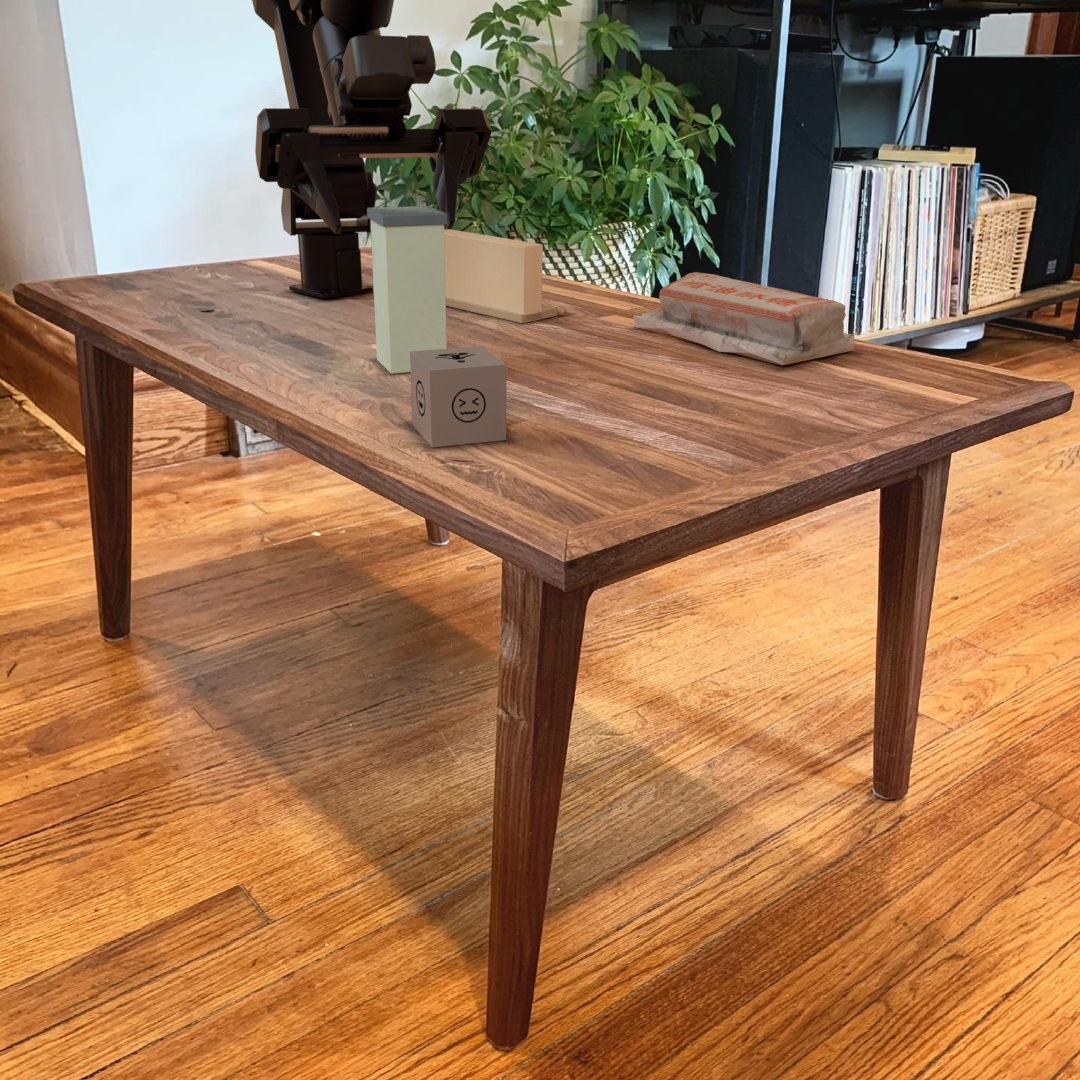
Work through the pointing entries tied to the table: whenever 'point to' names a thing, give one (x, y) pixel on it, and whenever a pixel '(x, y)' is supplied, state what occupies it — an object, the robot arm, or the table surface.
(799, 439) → the table surface
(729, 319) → the packaged product
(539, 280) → the wall
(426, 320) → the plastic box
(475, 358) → the dice cube
